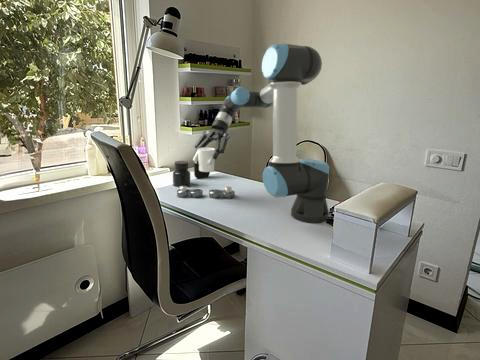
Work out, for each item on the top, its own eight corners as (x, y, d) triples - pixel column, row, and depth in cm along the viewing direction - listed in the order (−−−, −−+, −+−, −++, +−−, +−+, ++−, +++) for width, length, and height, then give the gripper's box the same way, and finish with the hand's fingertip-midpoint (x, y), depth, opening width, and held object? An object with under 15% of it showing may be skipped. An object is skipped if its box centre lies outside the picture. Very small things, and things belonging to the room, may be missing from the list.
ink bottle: (186, 181, 174) (185, 159, 170) (194, 185, 167) (193, 162, 164) (169, 183, 168) (168, 161, 165) (176, 188, 161) (176, 165, 158)
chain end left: (202, 198, 148) (202, 188, 146) (176, 197, 147) (175, 188, 146) (203, 194, 153) (203, 185, 152) (178, 193, 153) (177, 184, 152)
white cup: (195, 171, 144) (195, 149, 142) (200, 167, 152) (200, 146, 149) (212, 173, 143) (212, 151, 140) (216, 168, 151) (217, 147, 148)
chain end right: (234, 198, 148) (234, 189, 147) (208, 198, 148) (208, 189, 147) (234, 194, 154) (234, 185, 153) (209, 194, 154) (209, 185, 152)
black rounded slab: (194, 179, 177) (194, 153, 173) (191, 178, 179) (191, 152, 175) (210, 177, 183) (211, 151, 179) (208, 175, 186) (208, 150, 181)
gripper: (242, 130, 151) (224, 170, 142) (206, 127, 160) (187, 164, 151) (237, 120, 145) (218, 161, 136) (200, 117, 154) (179, 155, 145)
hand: (202, 163), depth 143 cm, fingers closed on white cup, 8 cm apart
